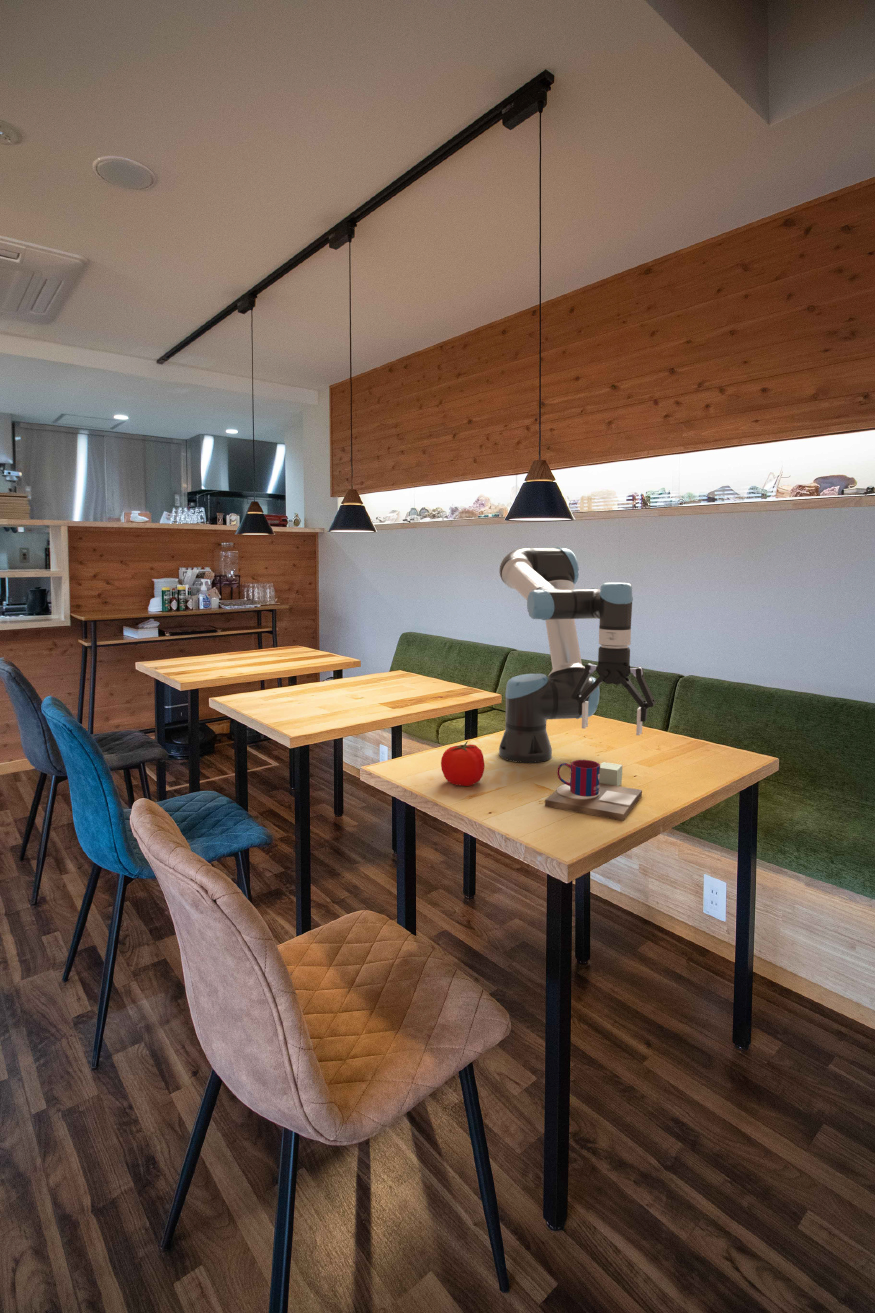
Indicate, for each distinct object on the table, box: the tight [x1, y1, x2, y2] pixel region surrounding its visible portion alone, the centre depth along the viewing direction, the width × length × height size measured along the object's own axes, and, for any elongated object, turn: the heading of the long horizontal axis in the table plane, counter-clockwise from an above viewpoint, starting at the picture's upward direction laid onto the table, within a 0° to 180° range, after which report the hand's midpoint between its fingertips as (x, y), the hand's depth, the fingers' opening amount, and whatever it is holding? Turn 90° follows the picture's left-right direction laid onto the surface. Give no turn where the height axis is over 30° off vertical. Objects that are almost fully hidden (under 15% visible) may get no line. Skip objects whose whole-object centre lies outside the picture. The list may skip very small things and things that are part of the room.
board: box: [544, 777, 643, 822], centre depth 159 cm, size 18×18×2 cm
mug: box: [556, 759, 601, 796], centre depth 160 cm, size 7×10×7 cm
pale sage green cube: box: [599, 761, 623, 786], centre depth 170 cm, size 5×5×5 cm
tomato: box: [440, 740, 485, 787], centre depth 171 cm, size 11×13×10 cm
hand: (611, 730), depth 168 cm, fingers open, 13 cm apart
